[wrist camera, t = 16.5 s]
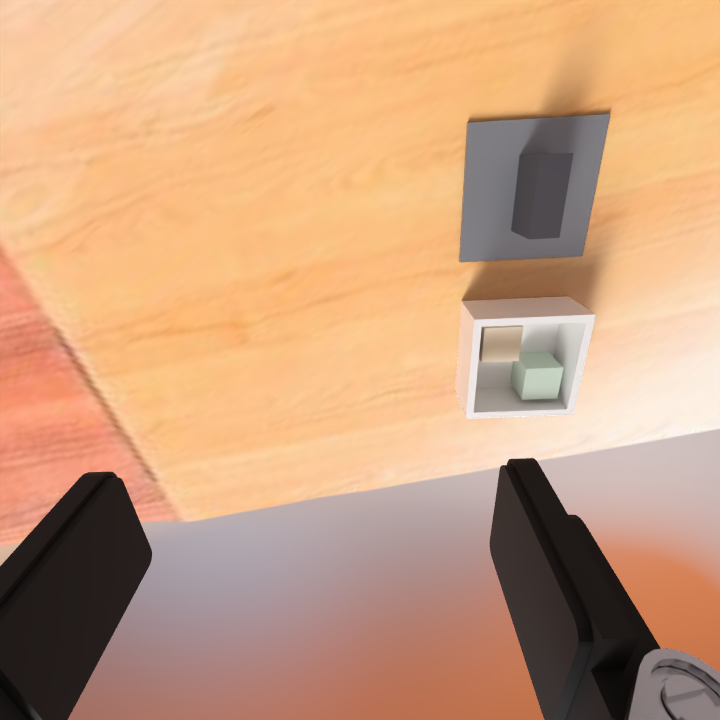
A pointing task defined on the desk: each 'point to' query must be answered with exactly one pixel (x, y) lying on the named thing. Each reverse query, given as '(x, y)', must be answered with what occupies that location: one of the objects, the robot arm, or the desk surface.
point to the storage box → (540, 334)
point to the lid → (530, 187)
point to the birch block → (500, 343)
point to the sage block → (536, 376)
